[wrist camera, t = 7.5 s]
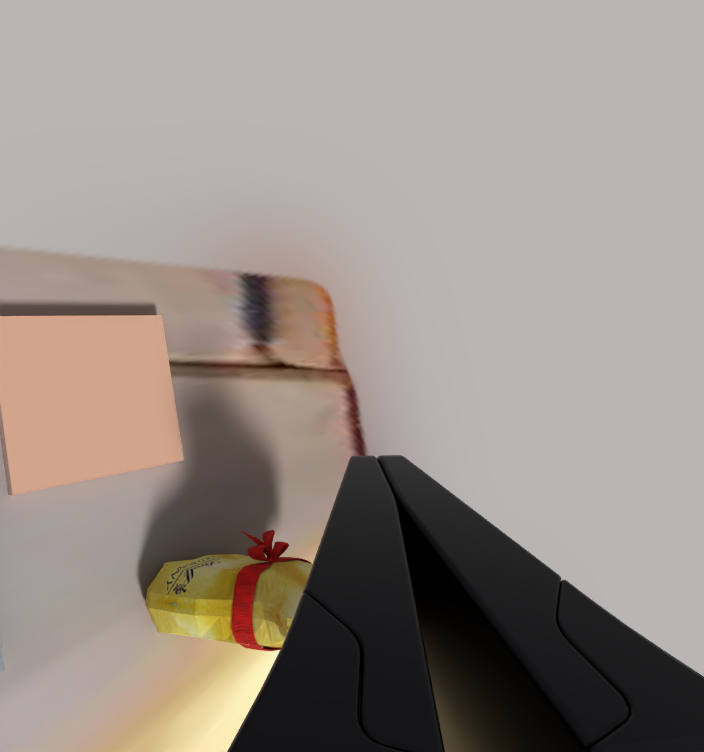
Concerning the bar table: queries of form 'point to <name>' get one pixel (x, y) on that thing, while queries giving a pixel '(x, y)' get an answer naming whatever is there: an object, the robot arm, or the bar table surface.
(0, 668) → the collar
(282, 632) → the chocolate bunny
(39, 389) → the terracotta tile
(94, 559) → the bar table surface
